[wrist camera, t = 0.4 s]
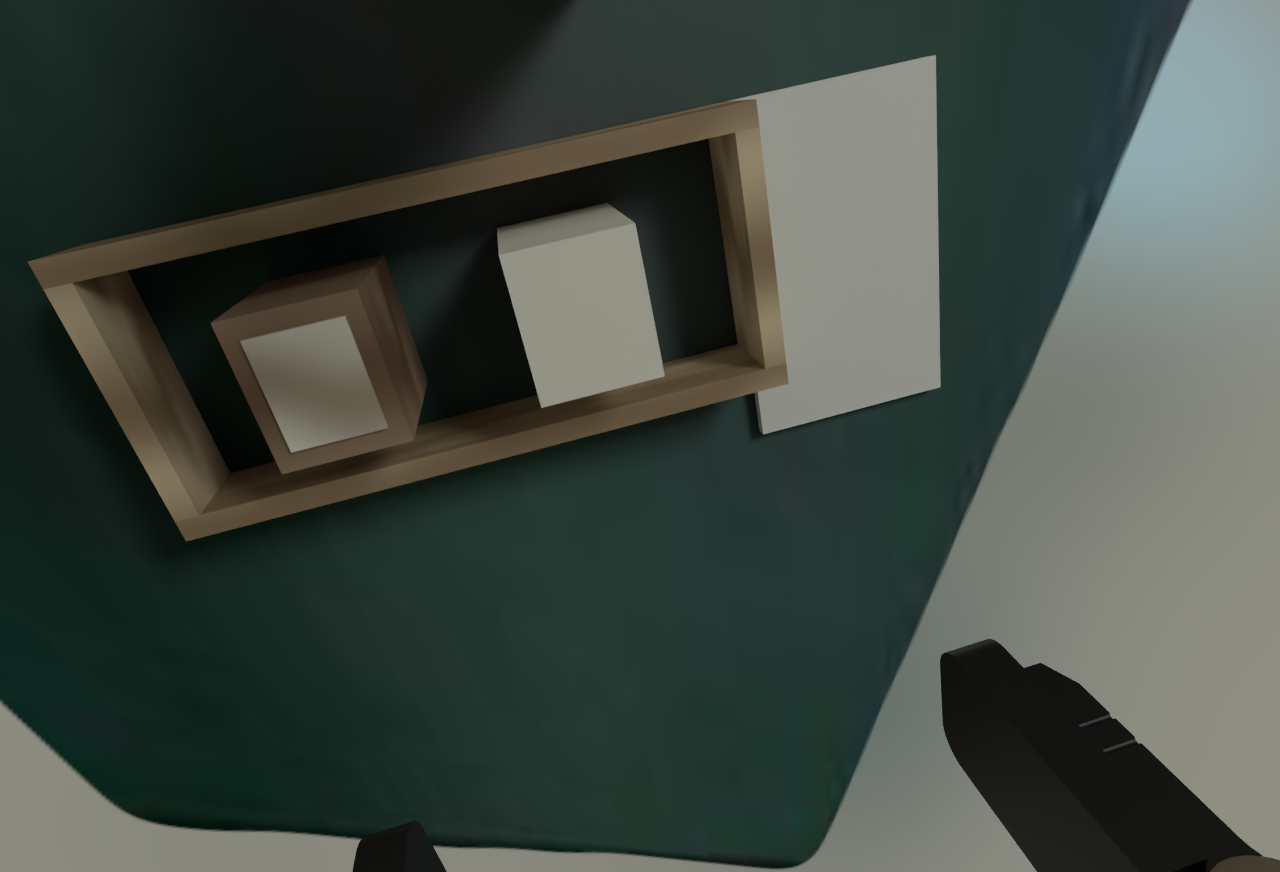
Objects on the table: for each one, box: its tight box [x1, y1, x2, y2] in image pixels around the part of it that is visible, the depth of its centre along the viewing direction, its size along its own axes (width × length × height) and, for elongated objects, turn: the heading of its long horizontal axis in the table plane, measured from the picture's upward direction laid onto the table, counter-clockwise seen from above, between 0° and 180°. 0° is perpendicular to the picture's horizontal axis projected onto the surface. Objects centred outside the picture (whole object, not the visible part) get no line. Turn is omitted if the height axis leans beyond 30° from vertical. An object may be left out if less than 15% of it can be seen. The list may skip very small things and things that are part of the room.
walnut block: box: [211, 255, 428, 474], centre depth 29 cm, size 6×5×7 cm
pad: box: [730, 55, 940, 434], centre depth 35 cm, size 16×10×1 cm, turn 11°
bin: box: [28, 99, 789, 541], centre depth 31 cm, size 12×27×4 cm, turn 101°
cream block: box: [497, 203, 665, 408], centre depth 30 cm, size 6×5×7 cm
